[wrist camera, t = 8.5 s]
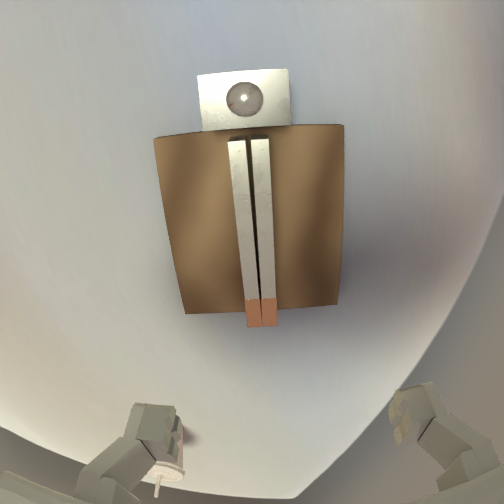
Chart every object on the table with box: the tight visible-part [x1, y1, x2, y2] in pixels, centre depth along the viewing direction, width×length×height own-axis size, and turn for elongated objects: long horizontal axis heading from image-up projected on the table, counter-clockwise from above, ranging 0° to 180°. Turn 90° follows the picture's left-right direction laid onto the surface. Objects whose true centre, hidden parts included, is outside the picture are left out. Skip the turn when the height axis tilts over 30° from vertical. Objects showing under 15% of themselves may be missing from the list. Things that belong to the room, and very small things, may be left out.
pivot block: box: [198, 69, 291, 132], centre depth 22 cm, size 6×4×7 cm, turn 94°
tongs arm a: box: [251, 134, 277, 326], centre depth 26 cm, size 16×1×4 cm, turn 4°
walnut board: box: [153, 124, 344, 314], centre depth 29 cm, size 16×18×2 cm
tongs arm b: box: [228, 135, 262, 327], centre depth 26 cm, size 16×1×4 cm, turn 5°
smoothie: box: [147, 426, 185, 498], centre depth 39 cm, size 6×6×14 cm
